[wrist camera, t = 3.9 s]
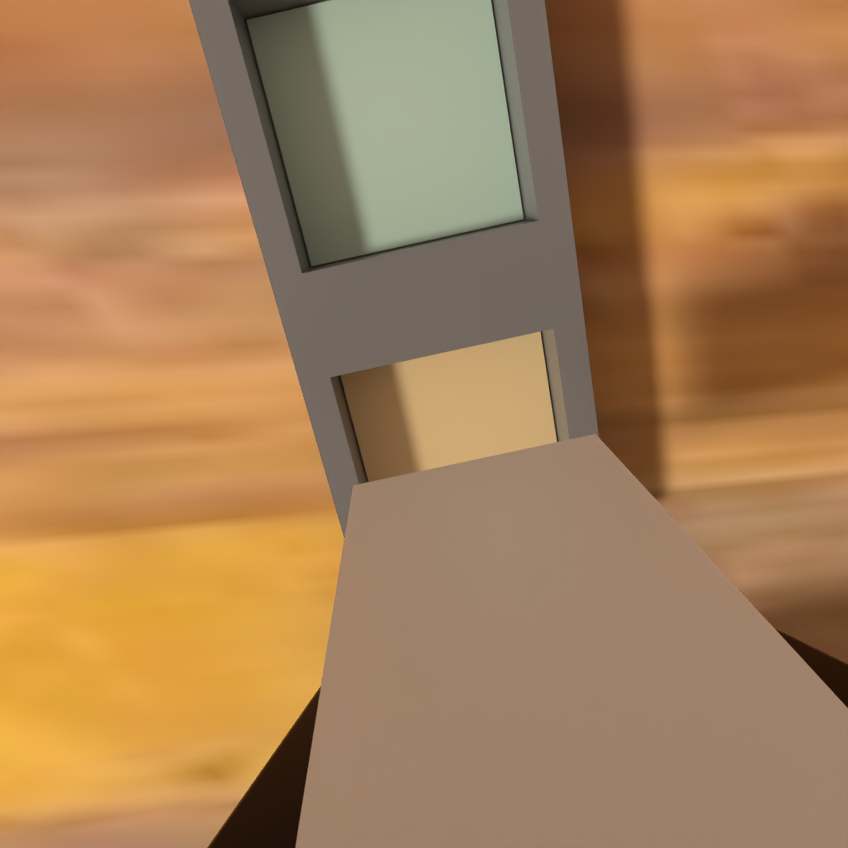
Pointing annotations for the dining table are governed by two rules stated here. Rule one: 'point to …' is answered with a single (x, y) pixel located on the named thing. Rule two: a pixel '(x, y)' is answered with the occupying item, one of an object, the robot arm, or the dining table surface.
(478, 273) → the socket panel
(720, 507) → the dining table surface
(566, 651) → the plug
